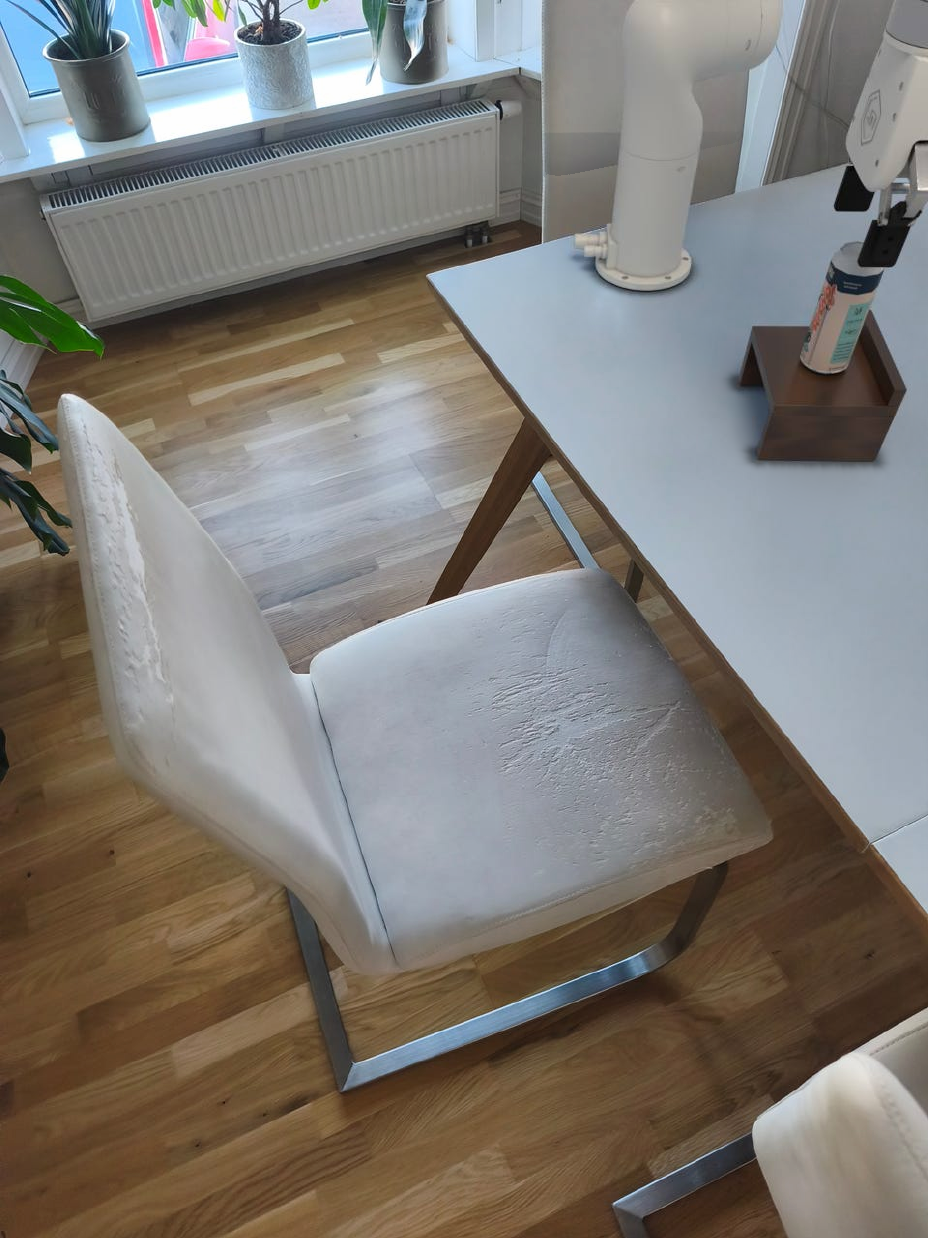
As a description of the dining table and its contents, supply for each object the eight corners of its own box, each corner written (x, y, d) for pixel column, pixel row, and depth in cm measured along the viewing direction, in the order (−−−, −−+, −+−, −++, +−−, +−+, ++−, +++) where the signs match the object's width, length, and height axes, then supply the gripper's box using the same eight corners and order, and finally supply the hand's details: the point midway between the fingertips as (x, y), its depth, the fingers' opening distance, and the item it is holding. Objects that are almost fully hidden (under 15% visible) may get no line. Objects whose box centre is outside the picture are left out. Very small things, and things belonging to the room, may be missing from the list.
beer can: (811, 344, 90) (848, 233, 81) (854, 360, 88) (897, 248, 79) (790, 366, 88) (826, 254, 78) (835, 383, 86) (876, 270, 76)
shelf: (757, 460, 89) (780, 388, 82) (737, 379, 98) (756, 308, 91) (874, 461, 89) (907, 389, 82) (844, 380, 97) (871, 309, 90)
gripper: (864, -20, 70) (802, 190, 83) (922, 63, 59) (840, 288, 73) (958, -21, 69) (880, 191, 83) (1033, 63, 59) (930, 289, 72)
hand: (862, 236), depth 78 cm, fingers open, 9 cm apart
